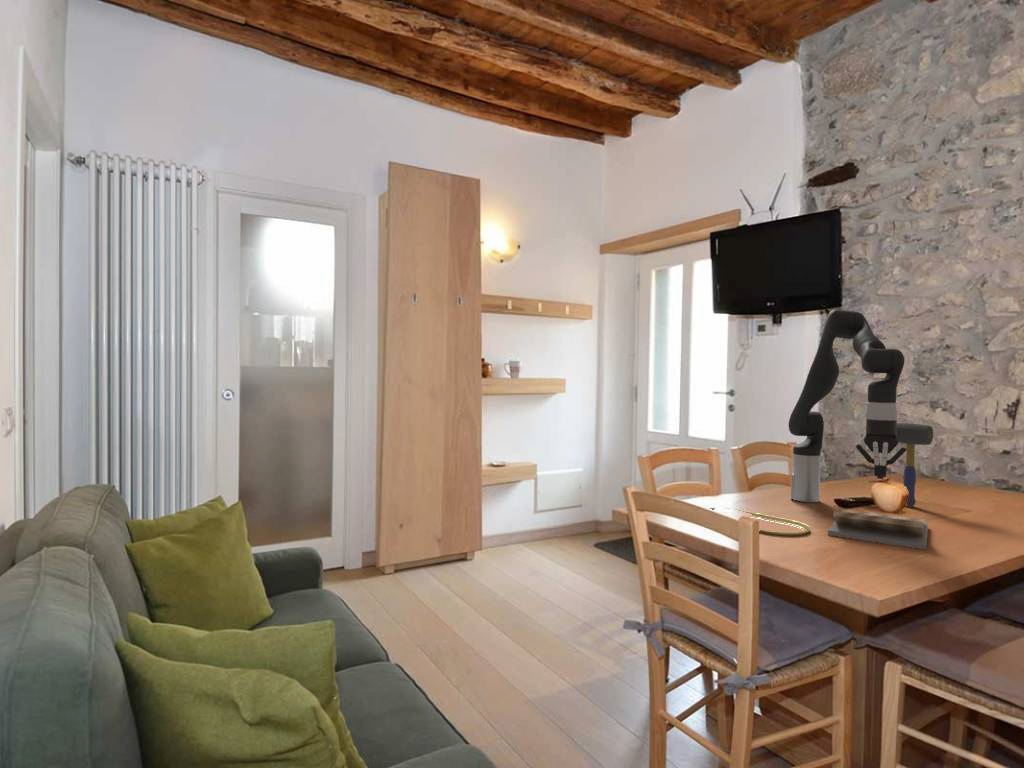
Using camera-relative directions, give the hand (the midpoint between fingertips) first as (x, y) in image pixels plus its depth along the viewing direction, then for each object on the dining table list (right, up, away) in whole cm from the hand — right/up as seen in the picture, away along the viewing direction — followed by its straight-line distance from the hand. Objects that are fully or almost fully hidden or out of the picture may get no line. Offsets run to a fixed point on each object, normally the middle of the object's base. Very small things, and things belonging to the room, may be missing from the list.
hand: (880, 478), depth 175 cm
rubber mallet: (+37, -17, +44) cm, 60 cm away
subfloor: (+5, -18, +9) cm, 20 cm away
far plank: (+10, -16, +15) cm, 24 cm away
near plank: (0, -14, +2) cm, 14 cm away
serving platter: (-30, -18, +18) cm, 39 cm away
